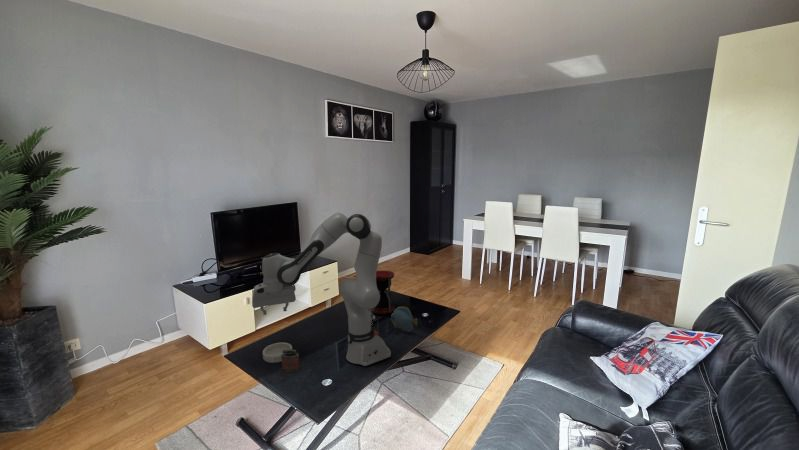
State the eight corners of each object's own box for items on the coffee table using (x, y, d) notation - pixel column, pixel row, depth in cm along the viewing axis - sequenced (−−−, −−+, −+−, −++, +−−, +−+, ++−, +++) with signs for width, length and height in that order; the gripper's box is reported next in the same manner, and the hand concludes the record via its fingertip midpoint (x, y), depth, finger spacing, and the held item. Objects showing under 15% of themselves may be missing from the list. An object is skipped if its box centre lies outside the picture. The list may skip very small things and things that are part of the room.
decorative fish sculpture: (395, 322, 207) (395, 299, 205) (422, 330, 196) (423, 306, 194) (383, 330, 197) (382, 305, 195) (411, 339, 186) (411, 313, 184)
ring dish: (290, 345, 180) (290, 340, 179) (293, 358, 167) (293, 353, 167) (262, 351, 174) (262, 346, 174) (263, 365, 162) (263, 359, 161)
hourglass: (365, 309, 227) (365, 273, 223) (384, 303, 238) (383, 268, 234) (381, 316, 215) (380, 279, 211) (399, 309, 226) (399, 273, 222)
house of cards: (378, 325, 204) (378, 313, 203) (364, 324, 206) (364, 312, 205) (381, 318, 213) (381, 307, 212) (368, 317, 215) (368, 306, 213)
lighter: (300, 367, 160) (299, 347, 159) (298, 371, 157) (297, 351, 155) (283, 367, 160) (281, 348, 158) (281, 371, 156) (279, 352, 155)
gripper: (294, 281, 172) (295, 306, 174) (250, 287, 164) (253, 313, 166) (296, 284, 166) (297, 311, 168) (250, 291, 158) (253, 318, 160)
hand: (275, 312), depth 167 cm, fingers open, 8 cm apart
